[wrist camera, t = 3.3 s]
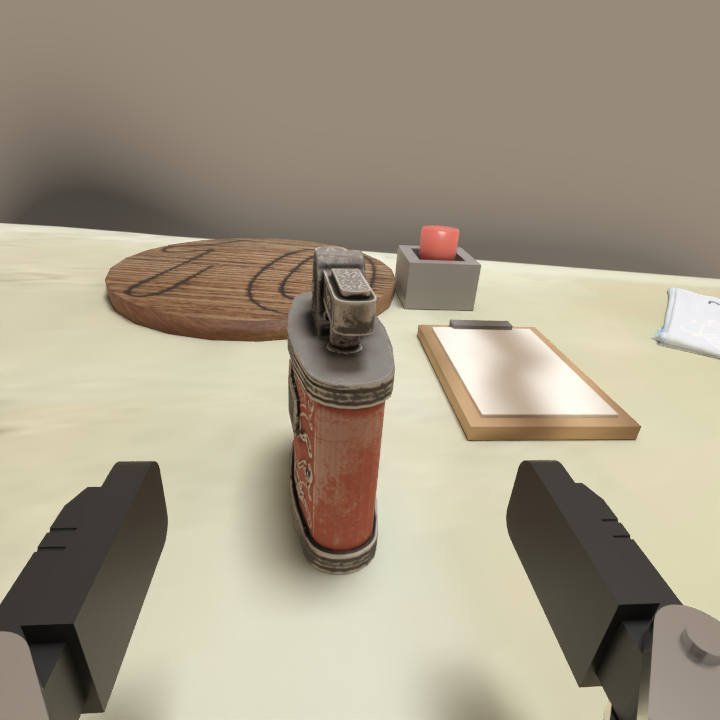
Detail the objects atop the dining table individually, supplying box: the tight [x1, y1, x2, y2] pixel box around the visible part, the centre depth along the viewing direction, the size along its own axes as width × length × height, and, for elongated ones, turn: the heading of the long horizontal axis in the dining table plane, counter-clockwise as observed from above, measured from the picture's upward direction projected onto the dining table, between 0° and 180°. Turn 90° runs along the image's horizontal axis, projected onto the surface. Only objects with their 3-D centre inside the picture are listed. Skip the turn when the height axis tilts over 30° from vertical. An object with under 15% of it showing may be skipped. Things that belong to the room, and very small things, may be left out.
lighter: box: [288, 247, 395, 574], centre depth 17 cm, size 8×3×10 cm, turn 10°
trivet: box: [105, 238, 396, 341], centre depth 43 cm, size 25×25×2 cm
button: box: [418, 225, 459, 261], centre depth 41 cm, size 3×3×4 cm
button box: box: [395, 245, 481, 310], centre depth 42 cm, size 6×6×4 cm
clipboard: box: [418, 320, 641, 440], centre depth 29 cm, size 9×13×1 cm
